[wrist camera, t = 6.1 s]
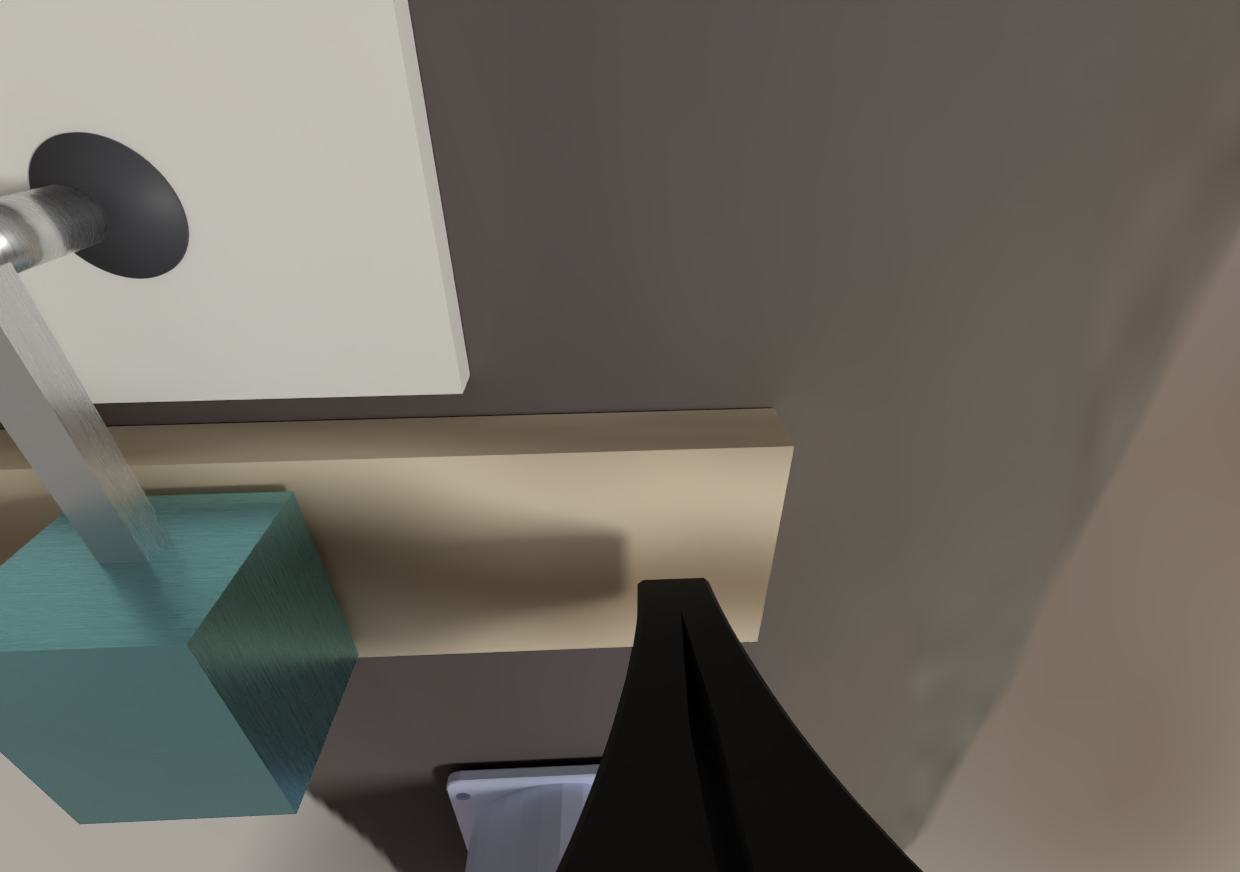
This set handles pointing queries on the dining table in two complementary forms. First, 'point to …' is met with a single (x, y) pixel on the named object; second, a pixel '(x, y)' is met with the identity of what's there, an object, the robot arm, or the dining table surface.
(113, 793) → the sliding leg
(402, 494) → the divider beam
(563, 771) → the robot arm
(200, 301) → the bolt plate
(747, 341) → the dining table surface
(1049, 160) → the dining table surface
